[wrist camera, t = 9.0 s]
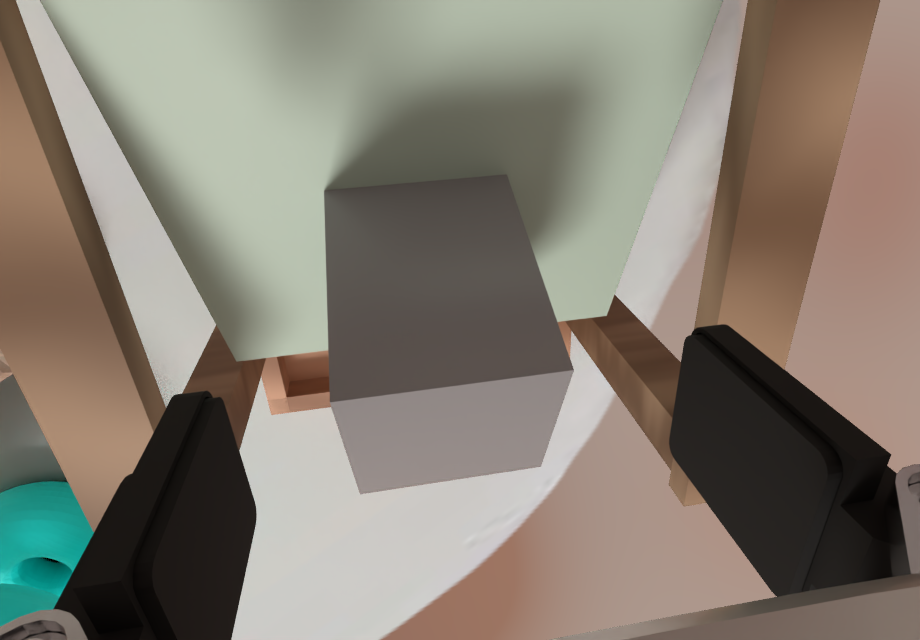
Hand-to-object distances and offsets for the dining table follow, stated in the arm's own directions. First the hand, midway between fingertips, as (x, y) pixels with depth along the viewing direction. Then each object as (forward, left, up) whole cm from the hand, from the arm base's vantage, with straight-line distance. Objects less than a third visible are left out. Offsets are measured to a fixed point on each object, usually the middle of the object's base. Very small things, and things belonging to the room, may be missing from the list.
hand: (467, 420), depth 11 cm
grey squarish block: (-1, 0, -8) cm, 8 cm away
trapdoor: (-3, 0, -8) cm, 8 cm away
